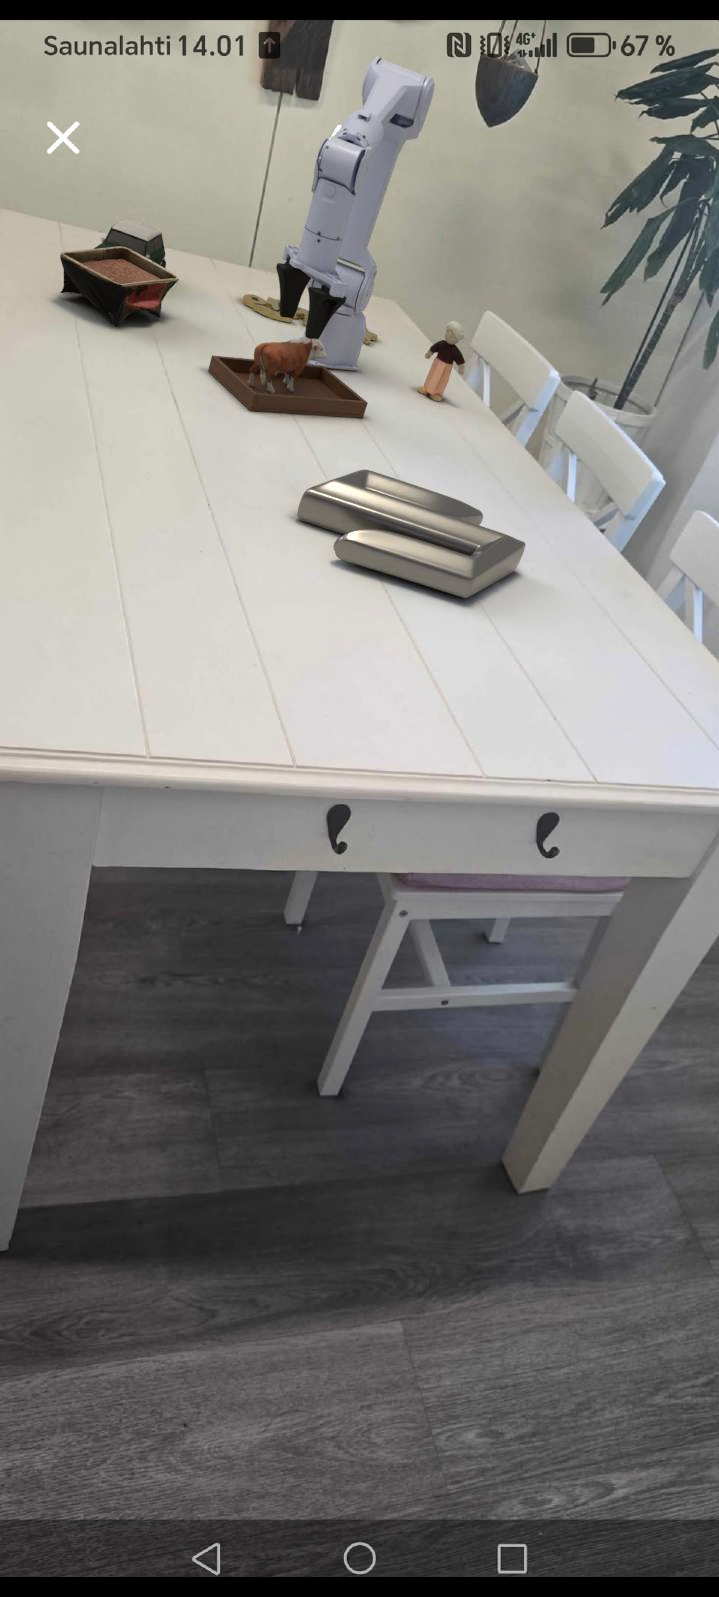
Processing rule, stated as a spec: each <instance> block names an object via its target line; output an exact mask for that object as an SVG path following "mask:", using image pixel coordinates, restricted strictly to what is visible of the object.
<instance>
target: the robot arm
mask: <svg viewBox="0 0 719 1597" xmlns="http://www.w3.org/2000/svg"><path fill="white" fill-rule="evenodd" d="M435 87H436V86H435V82H434V78H433V77H432V76H430V75H428V76H427V75H424V74H422V73H419V72H416V71H414V70H411V69H409V68H406V67H404V66H401V65H398V64H395V63H393V62H390V61H388V60H386V59H383V58H382V57H380V56H376V57H375V58H373V59H372V60H371V61H370V62H369V65H368V67H367V69H366V71H365V75H364V78H363V82H362V86H361V98H362V100H361V101H362V102H361V103H362V108H361V109H356V110H354V111H352V112H350V114H349V115H348V117H347V118H346V120H344V123H343V124H342V125H341V127H340V129H339V130H338V132H337V133H336V134H335V135H334V136H330V137H329V138H328V137H325V138H324V139H323V141H322V142H321V145H320V147H319V149H318V152H317V155H316V159H315V164H314V170H313V179H312V180H313V181H312V185H311V193H312V196H311V201H310V204H309V209H308V212H307V216H306V220H305V223H304V228H303V232H302V236H301V240H300V244H299V247H297V246H295V245H287V244H285V245H284V249H283V253H282V259H283V260H284V261H285V262H284V263H281V262H277V264H276V266H275V269H276V273H277V276H278V283H279V300H280V310H279V312H280V316H281V317H286V318H292V319H294V318H293V317H294V316H295V313H296V311H297V308H298V307H299V305H300V302H301V299H302V296H303V295H304V292H305V290H307V293H308V311H309V314H308V319H307V324H306V325H305V328H304V332H303V335H302V337H307V338H310V339H320V341H321V342H322V344H323V345H324V349H325V352H326V355H327V357H326V359H325V360H322V359H321V358H317V359H315V360H310V361H308V363H307V364H308V365H319V366H324V367H325V368H327V369H335V370H346V371H358V370H359V367H358V366H357V364H358V360H359V357H360V353H361V350H362V346H363V343H364V342H363V340H364V337H365V333H366V327H367V319H366V317H365V314H364V311H366V308H367V307H368V304H369V302H370V300H371V296H372V293H373V291H374V286H375V281H376V277H377V273H378V266H377V263H376V262H375V260H374V258H373V256H372V255H371V253H370V252H369V249H368V246H369V243H370V241H371V237H372V234H373V232H374V229H375V226H376V223H377V220H378V216H379V214H380V211H381V208H382V205H383V202H384V199H385V196H386V194H387V190H388V187H389V184H390V181H391V178H392V175H393V173H394V169H395V166H396V163H397V160H398V157H399V155H400V153H401V151H402V150H403V147H404V146H405V143H406V142H407V141H410V140H417V139H418V138H419V135H420V133H421V132H422V130H423V127H424V124H425V122H426V118H427V117H428V116H427V115H428V112H429V109H430V107H431V103H432V100H433V97H434V92H435ZM338 260H341V261H343V262H346V263H349V264H351V265H354V266H356V267H358V268H355V267H353V266H351V265H347V264H346V263H343V262H340V261H338ZM359 268H361V269H363V270H361V269H359Z"/></svg>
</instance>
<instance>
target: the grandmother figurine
mask: <svg viewBox="0 0 719 1597" xmlns="http://www.w3.org/2000/svg"><path fill="white" fill-rule="evenodd" d="M464 339H465V330H464V327H463V326H462V324H461V323H460V322H458V321H455V320H452V321H449V322H448V323H447V325H446V328H445V333H444V339H441V340H438V341H437V342H435V343H434V344H432V345H431V346H430V348H429V349H428V350H427V352H426V353H425V354H424V358H425V359H426V360H430V359H431V358H432V356H433V355H434V354H436V356H435V357H434V359H433V361H432V363H431V366H430V368H429V370H428V374H427V375H426V378H425V380H424V383H423V386H420V387H418V388H417V390H416V391H417V392H419V393H420V394H422V395H428V396H429V398H430V399H431V400H433V401H435V402H441V401H442V400H443V395H444V393H445V390H446V388H447V386H448V384H449V380H450V377H451V374H452V370H453V366H454V363H455V364H456V366H457V368H458V371H457V372H458V375H460V376H462V375H464V374H465V363H466V360H465V358H464V356H463V353H462V352H461V350H460V349H459V347H458V346H457V345H456V344H458V343H459V342H460V341H463V340H464Z"/></svg>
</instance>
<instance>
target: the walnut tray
mask: <svg viewBox="0 0 719 1597" xmlns="http://www.w3.org/2000/svg"><path fill="white" fill-rule="evenodd" d="M253 365H254V358H243V357H234V356H222V355H211V357H210V361H209V365H208V370H207V371H208V373H209V374H210V375H211V376H213V377H214V379H215V380H216V381H218V383H220V384H221V385H222V386H223V387H224V388H225V389H226V390H227V391H228V392H230V394H232V395H233V396H234V397H235V398H236V399H237V400H238V401H239V402H240V403H241V404H242V405H243V406H245V408H247V409H248V410H249V411H251V412H264V413H265V412H266V413H278V414H279V413H281V414H294V415H295V414H296V415H309V416H310V415H311V416H325V417H340V418H341V417H342V418H354V419H356V418H357V419H364V416H365V413H366V410H367V407H368V404H369V402H367V400H365V399H364V398H363V397H362V396H360V395H359V394H358V393H357V392H356V391H355V390H353V389H352V388H351V387H350V386H348V385H347V384H346V383H345V382H343V381H342V380H341V379H340V378H339V377H338V376H336V375H335V374H334V373H333V372H331V371H330V370H329V368H325V367H324V366H319V365H310V364H309V363H307V364H306V366H305V367H304V368H303V370H302V371H301V373H300V374H299V375H298V377H297V379H296V380H295V381H294V383H293V389H294V392H291V391H289V389H288V388H287V385H286V384H284V382H283V380H284V378H285V373H281V372H279V373H278V374H277V376H274V374H273V376H272V386H273V389H274V391H275V393H274V394H272V393H270V392H269V391H267V382H266V381H265V384H264V385H262V383H261V377H260V374H261V369H259V370H258V371H257V373H256V374H255V376H254V384H255V386H254V387H251V386H250V385H249V384H248V380H249V377H250V369H251V368H252V367H253ZM266 373H267V372H266ZM291 375H292V374H289V382H290V380H291Z"/></svg>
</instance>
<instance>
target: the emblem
mask: <svg viewBox="0 0 719 1597" xmlns="http://www.w3.org/2000/svg"><path fill="white" fill-rule="evenodd" d="M296 513H297V514H296V515H297V516H296V517H297V519H298V520H299V521H301V522H304V523H306V524H310V525H313V526H315V527H319V528H322V529H325V530H328V531H331V532H334V533H338V534H341V536H339V537H338V538H337V539H336V540H335V541H334V543H333V546H332V547H333V551H334V554H335V556H336V557H337V559H340V560H341V561H343V562H346V563H349V564H353V565H357V566H359V567H363V568H366V569H370V570H372V571H376V572H380V573H383V574H385V575H389V576H392V577H396V578H399V579H402V580H405V581H409V582H412V583H415V584H418V585H422V586H425V587H428V588H430V589H434V590H437V591H441V592H444V593H446V594H450V595H453V596H456V597H460V598H463V599H467V598H470V597H472V596H473V595H476V594H477V593H479V592H481V591H483V590H485V589H486V588H487V587H489V586H491V585H493V584H494V583H497V582H498V581H500V580H501V579H504V578H505V577H507V576H509V575H511V574H512V573H514V572H515V571H516V569H517V568H518V567H519V564H520V562H521V559H522V557H523V555H524V552H525V550H526V542H524V541H522V540H520V539H517V538H515V537H514V536H511V535H509V534H506V533H503V532H499V531H497V530H494V529H491V528H488V527H485V526H482V525H481V524H482V522H483V519H484V514H483V512H482V511H481V510H480V509H478V508H476V507H473V506H472V505H470V504H468V503H466V502H464V501H462V500H460V499H456V498H454V497H452V496H448V495H445V494H442V493H439V492H437V491H434V490H430V489H428V488H425V487H421V486H418V485H416V484H413V483H409V482H406V481H403V480H400V479H398V478H395V477H392V476H388V475H385V474H383V473H379V472H376V471H374V470H370V469H360V470H356V471H354V472H350V473H348V474H345V475H342V476H339V477H336V478H333V479H330V480H328V481H324V482H322V483H319V484H316V485H313V486H311V487H309V488H307V489H306V490H305V491H304V492H303V493H302V497H301V498H300V501H299V504H298V508H297V512H296Z"/></svg>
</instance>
